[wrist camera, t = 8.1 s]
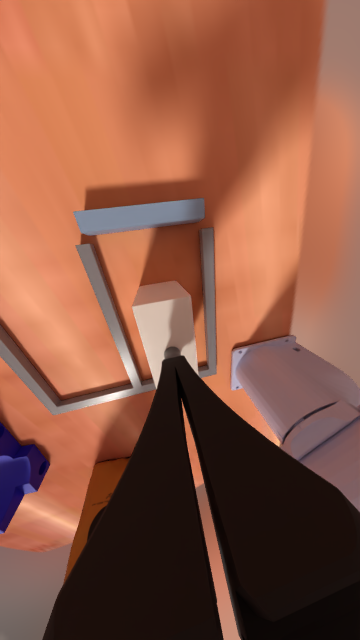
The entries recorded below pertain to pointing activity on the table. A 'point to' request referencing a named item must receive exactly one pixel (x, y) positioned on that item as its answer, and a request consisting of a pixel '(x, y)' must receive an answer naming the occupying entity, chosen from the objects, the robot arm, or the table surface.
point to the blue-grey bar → (140, 216)
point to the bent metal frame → (115, 336)
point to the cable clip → (17, 474)
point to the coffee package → (95, 503)
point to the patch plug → (165, 324)
